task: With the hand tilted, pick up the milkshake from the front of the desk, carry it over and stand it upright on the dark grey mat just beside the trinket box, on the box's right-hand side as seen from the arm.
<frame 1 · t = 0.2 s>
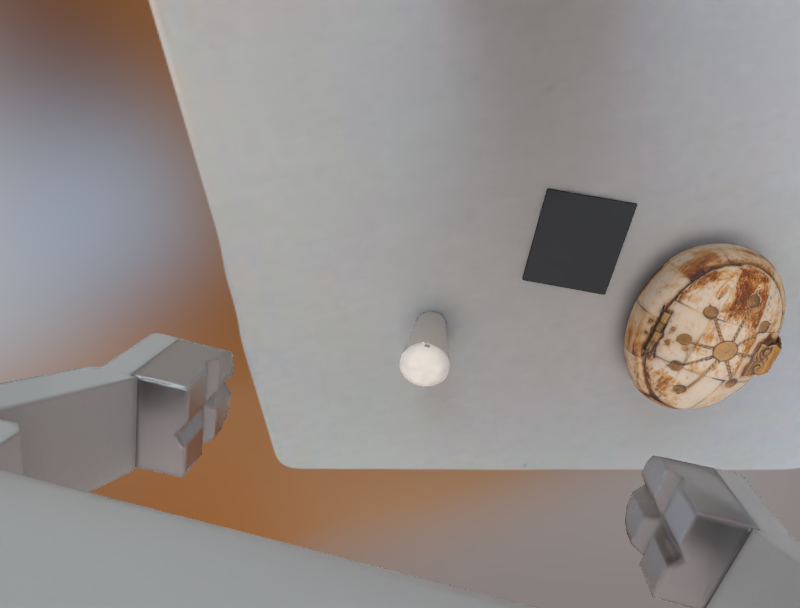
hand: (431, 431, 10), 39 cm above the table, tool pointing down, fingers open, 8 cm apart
milkshake: (431, 320, 53), on the table
mat: (576, 242, 47), on the table
trinket box: (684, 311, 49), on the table
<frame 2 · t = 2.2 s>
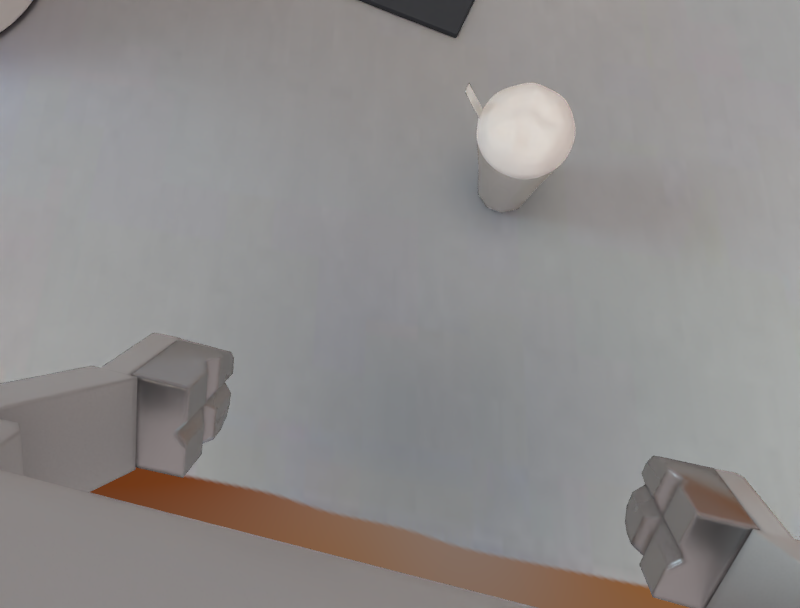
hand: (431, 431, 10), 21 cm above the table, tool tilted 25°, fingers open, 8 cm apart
milkshake: (497, 186, 32), on the table
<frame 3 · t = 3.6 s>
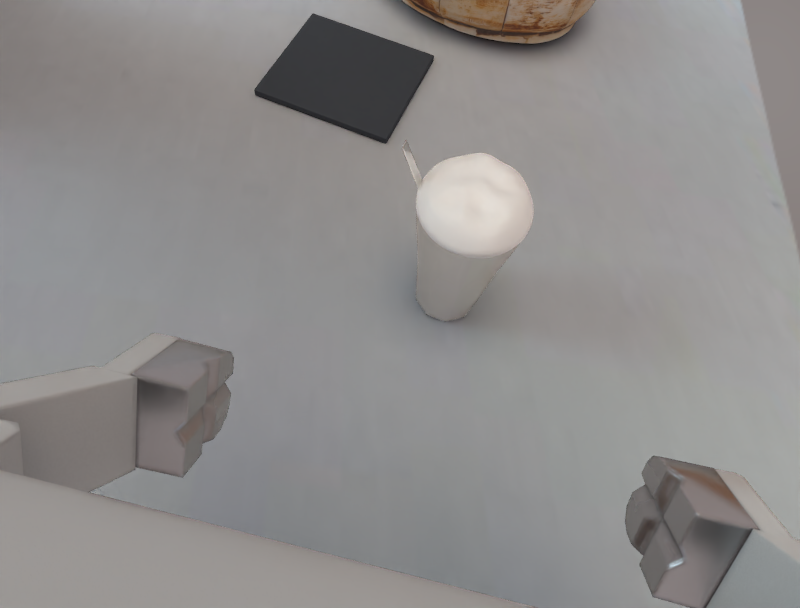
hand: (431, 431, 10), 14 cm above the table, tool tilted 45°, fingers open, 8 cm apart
milkshake: (437, 292, 27), on the table
mat: (347, 77, 33), on the table
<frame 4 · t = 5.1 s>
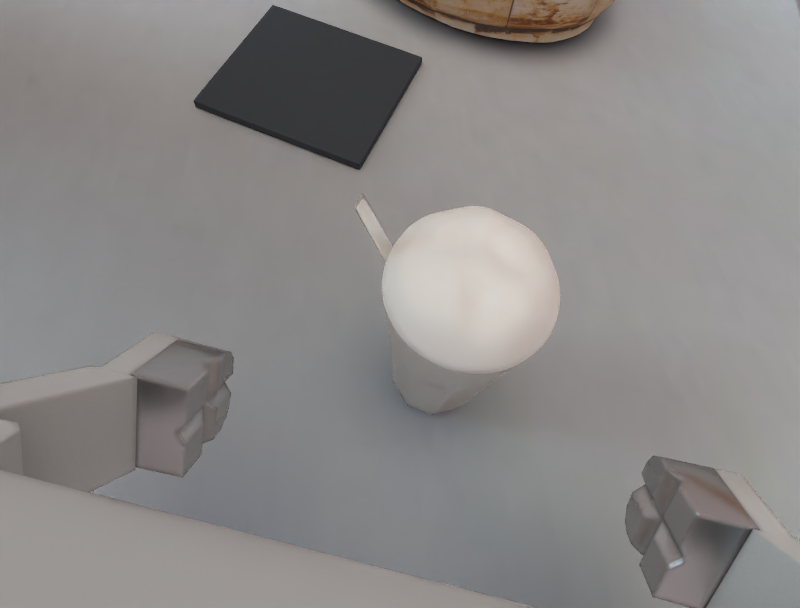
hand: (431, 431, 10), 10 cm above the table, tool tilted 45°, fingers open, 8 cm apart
milkshake: (422, 371, 20), on the table
mat: (313, 84, 26), on the table
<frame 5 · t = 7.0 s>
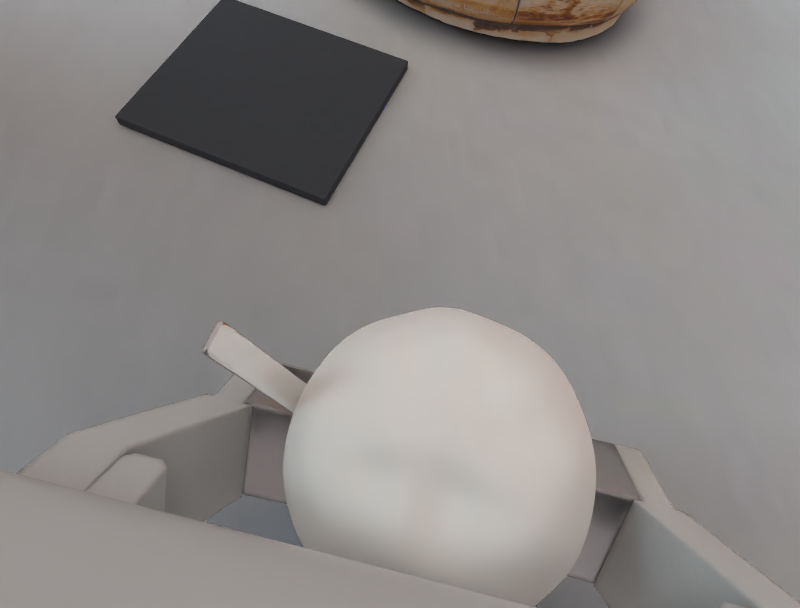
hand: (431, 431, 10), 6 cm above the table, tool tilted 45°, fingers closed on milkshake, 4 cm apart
milkshake: (403, 488, 15), on the table, touching gripper
mat: (271, 94, 21), on the table
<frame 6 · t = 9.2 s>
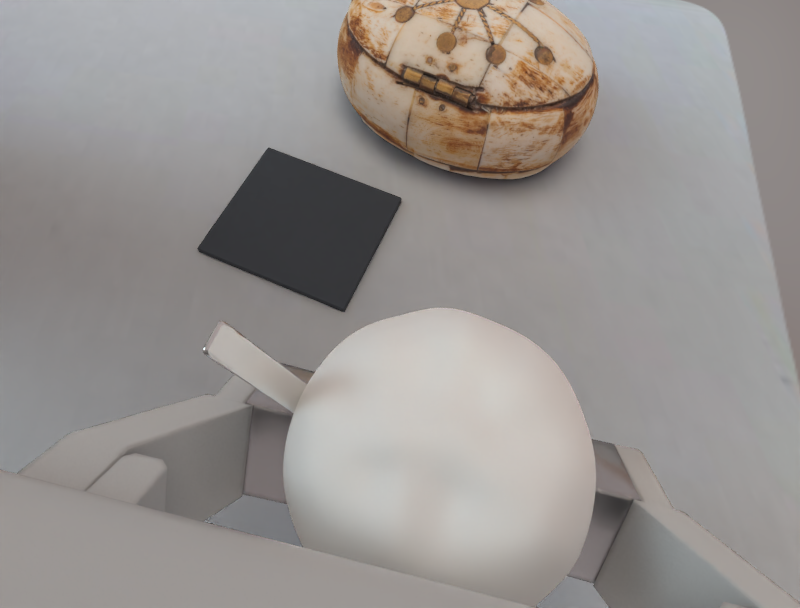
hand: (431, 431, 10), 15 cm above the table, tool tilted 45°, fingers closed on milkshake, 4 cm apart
milkshake: (403, 488, 15), point 9 cm above the table, touching gripper
mat: (304, 225, 29), on the table
trinket box: (454, 117, 34), on the table
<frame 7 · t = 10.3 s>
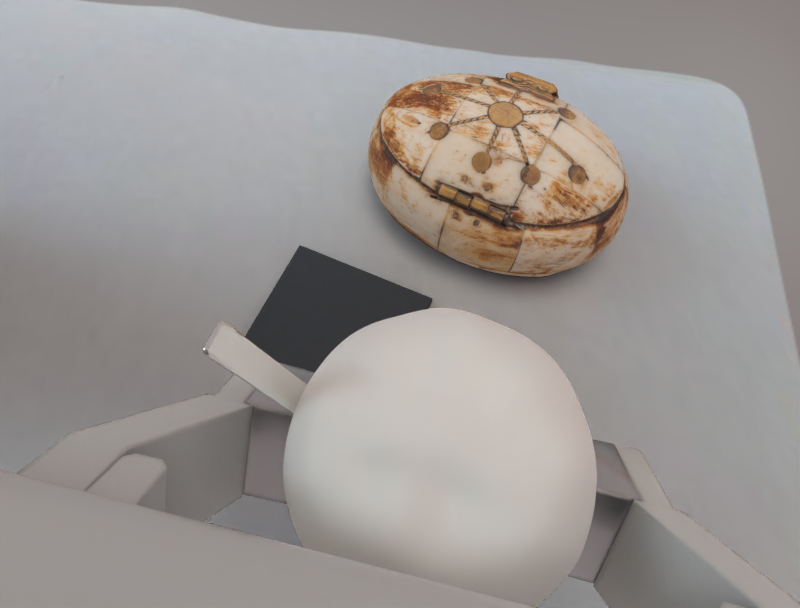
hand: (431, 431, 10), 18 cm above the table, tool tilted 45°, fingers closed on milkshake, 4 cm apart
milkshake: (403, 489, 15), point 12 cm above the table, touching gripper
mat: (336, 328, 30), on the table
trinket box: (480, 207, 34), on the table
when the fingers open (6 cm above the table, at t = 15.4 s): milkshake stays where it is, resting on mat.
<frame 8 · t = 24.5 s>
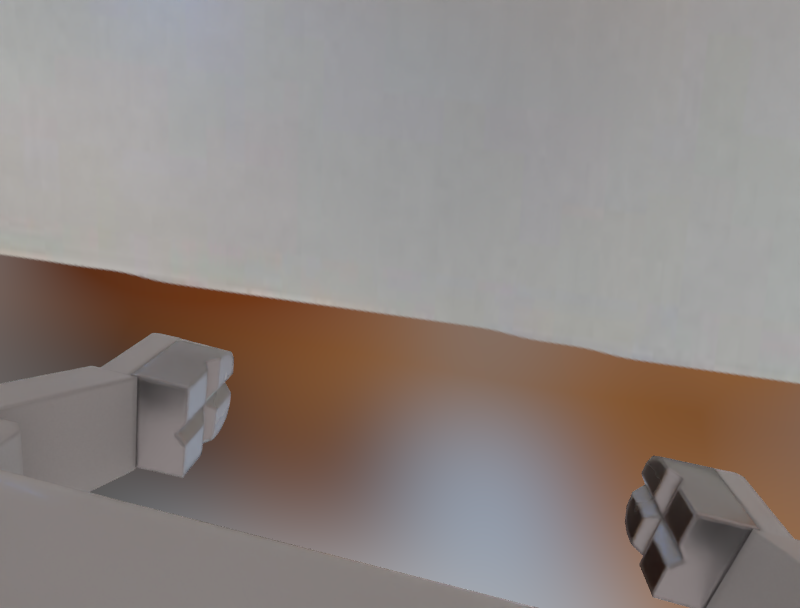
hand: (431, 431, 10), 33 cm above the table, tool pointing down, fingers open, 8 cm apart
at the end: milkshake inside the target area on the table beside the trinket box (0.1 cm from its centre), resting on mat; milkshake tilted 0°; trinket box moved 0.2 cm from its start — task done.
